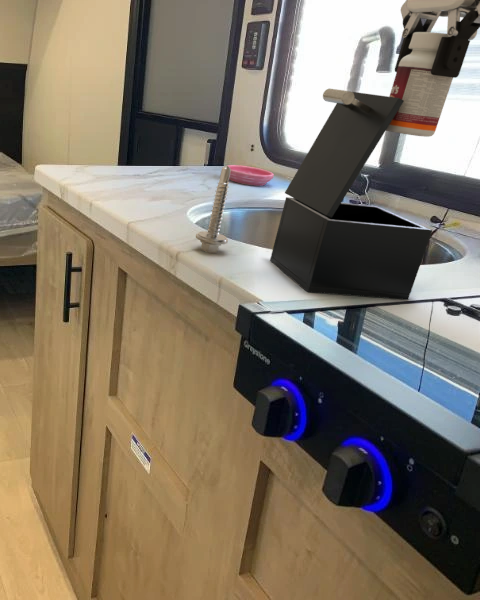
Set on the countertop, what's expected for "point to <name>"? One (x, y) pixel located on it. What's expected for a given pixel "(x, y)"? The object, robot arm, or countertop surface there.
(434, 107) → the pill bottle
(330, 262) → the bin
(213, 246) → the screw
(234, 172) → the saucer
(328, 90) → the bin lid
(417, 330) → the countertop surface
